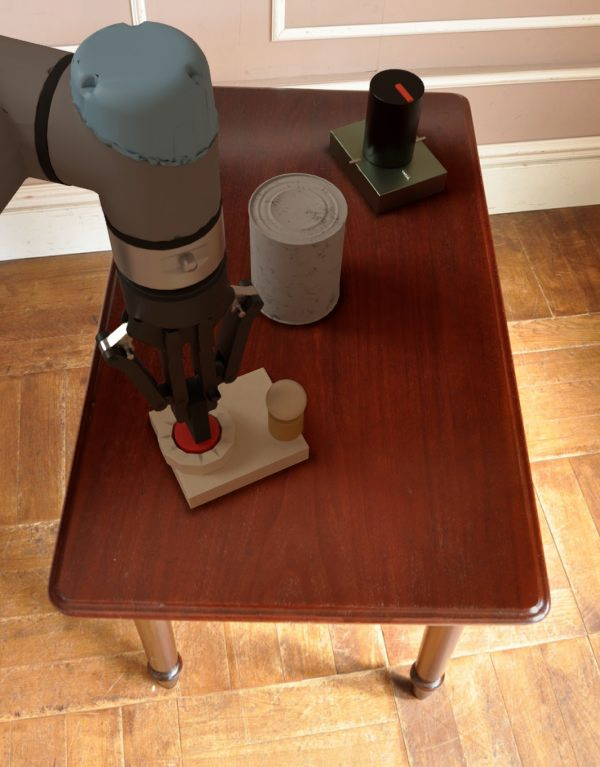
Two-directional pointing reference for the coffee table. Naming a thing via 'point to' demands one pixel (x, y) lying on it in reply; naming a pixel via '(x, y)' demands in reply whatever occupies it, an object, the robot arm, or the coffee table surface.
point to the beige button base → (230, 443)
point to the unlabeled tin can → (297, 246)
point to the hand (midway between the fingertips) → (197, 429)
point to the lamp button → (187, 441)
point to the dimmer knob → (392, 117)
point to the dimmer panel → (386, 171)
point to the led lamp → (285, 409)
